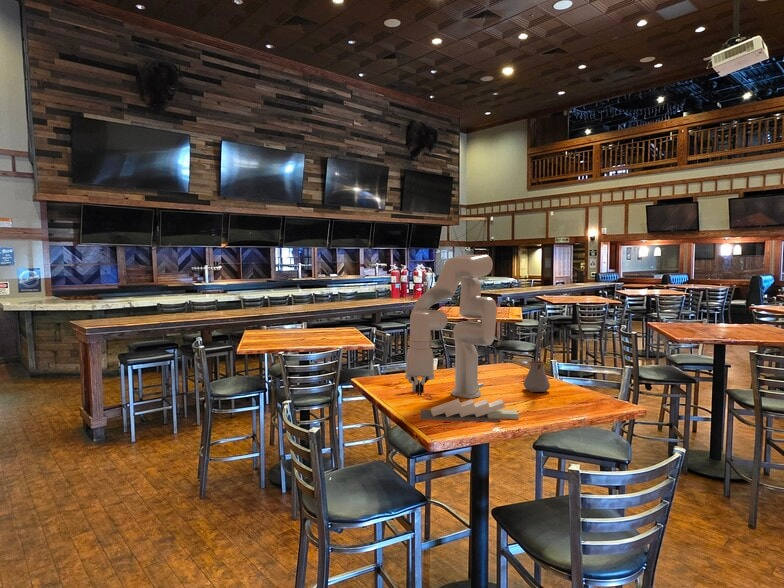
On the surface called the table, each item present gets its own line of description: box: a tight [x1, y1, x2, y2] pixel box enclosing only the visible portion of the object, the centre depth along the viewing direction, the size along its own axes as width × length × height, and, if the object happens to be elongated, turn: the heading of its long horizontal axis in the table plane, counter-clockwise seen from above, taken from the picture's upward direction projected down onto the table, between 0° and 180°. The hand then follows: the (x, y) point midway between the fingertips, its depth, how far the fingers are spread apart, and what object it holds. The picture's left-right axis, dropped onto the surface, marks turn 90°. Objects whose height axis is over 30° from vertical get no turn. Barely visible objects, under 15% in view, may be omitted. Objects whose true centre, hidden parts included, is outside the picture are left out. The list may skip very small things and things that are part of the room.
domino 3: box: [460, 398, 490, 417], centre depth 175 cm, size 2×5×11 cm
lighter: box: [407, 379, 421, 393], centre depth 209 cm, size 7×2×8 cm, turn 91°
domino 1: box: [430, 398, 462, 416], centre depth 175 cm, size 2×5×11 cm
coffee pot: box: [523, 360, 551, 393], centre depth 207 cm, size 21×12×15 cm, turn 167°
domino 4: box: [475, 398, 506, 417], centre depth 174 cm, size 2×5×11 cm
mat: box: [420, 408, 501, 423], centre depth 175 cm, size 28×12×1 cm, turn 86°
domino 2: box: [445, 398, 475, 417], centre depth 175 cm, size 2×5×11 cm
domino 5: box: [486, 409, 520, 420], centre depth 174 cm, size 2×5×11 cm
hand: (419, 394), depth 175 cm, fingers closed
